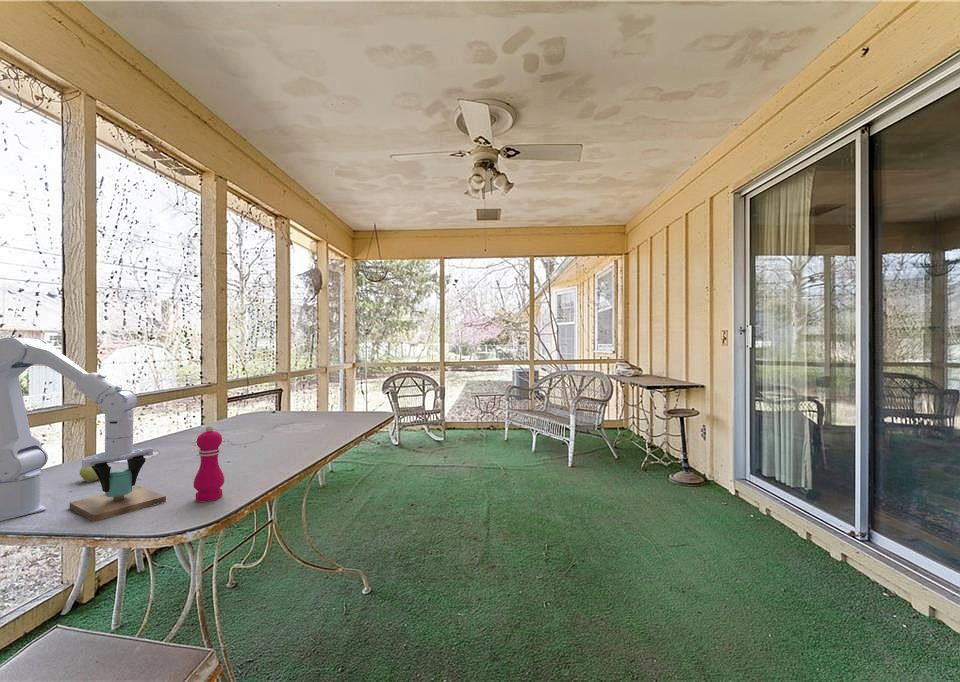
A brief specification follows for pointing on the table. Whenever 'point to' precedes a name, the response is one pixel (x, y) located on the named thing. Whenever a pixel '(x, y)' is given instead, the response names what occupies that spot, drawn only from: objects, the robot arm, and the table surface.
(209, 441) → the pepper mill
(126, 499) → the peg board
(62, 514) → the table surface
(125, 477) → the cap
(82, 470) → the lemon
